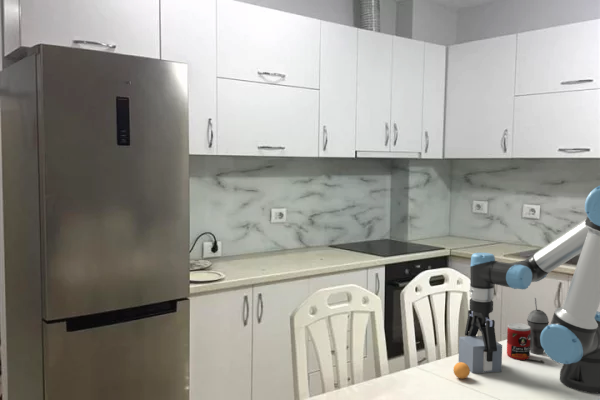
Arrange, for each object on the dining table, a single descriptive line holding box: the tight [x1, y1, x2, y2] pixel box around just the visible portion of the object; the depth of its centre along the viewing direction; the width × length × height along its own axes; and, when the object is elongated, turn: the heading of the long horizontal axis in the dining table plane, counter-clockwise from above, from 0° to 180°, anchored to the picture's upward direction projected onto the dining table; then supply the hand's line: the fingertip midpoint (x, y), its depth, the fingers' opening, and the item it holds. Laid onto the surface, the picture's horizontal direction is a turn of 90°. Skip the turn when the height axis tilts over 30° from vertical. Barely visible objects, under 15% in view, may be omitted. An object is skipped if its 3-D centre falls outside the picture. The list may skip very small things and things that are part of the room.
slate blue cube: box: [458, 335, 503, 374], centre depth 183 cm, size 10×10×9 cm
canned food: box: [506, 322, 531, 361], centre depth 193 cm, size 8×8×11 cm
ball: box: [452, 361, 471, 380], centre depth 173 cm, size 5×5×5 cm
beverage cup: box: [526, 297, 550, 355], centre depth 197 cm, size 7×7×20 cm
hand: (479, 364), depth 183 cm, fingers closed on slate blue cube, 10 cm apart
